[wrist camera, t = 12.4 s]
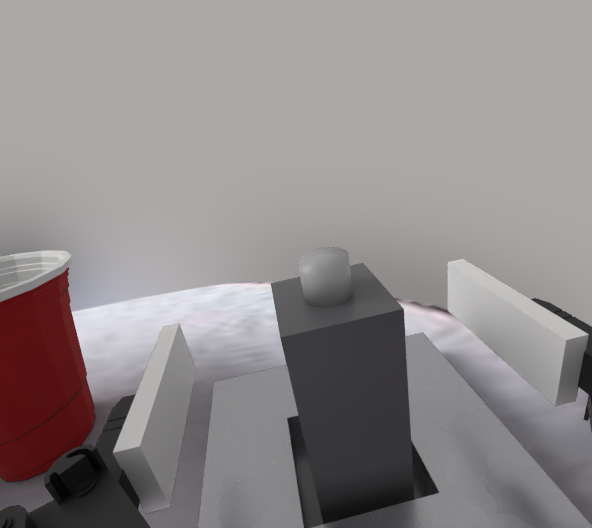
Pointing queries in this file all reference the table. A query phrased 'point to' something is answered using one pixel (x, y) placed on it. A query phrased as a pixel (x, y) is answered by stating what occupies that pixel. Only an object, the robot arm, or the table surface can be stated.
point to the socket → (425, 456)
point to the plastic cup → (39, 366)
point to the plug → (348, 382)
